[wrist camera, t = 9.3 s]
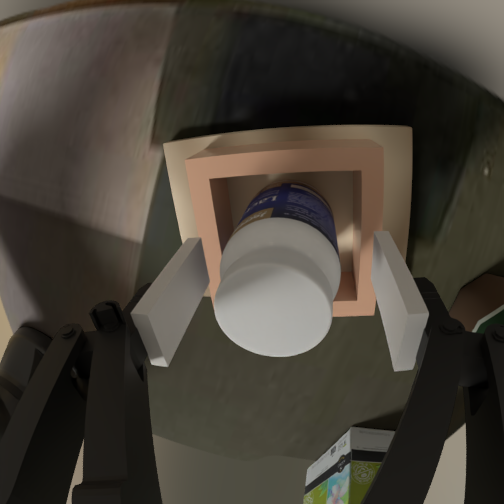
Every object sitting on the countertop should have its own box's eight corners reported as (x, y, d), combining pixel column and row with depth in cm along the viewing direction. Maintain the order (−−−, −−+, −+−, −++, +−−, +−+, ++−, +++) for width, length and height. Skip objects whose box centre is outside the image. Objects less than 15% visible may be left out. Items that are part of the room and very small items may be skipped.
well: (227, 287, 24) (215, 316, 21) (204, 149, 19) (184, 159, 16) (366, 285, 22) (373, 315, 19) (370, 139, 17) (383, 147, 14)
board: (199, 287, 26) (195, 296, 25) (170, 141, 20) (162, 143, 19) (397, 284, 23) (400, 292, 22) (406, 125, 17) (412, 127, 16)
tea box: (347, 424, 32) (346, 535, 19) (414, 430, 32) (425, 528, 19) (305, 468, 39) (295, 550, 26) (361, 473, 39) (360, 551, 26)
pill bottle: (268, 162, 19) (231, 222, 10) (348, 203, 19) (378, 292, 11) (233, 237, 22) (184, 333, 13) (307, 271, 22) (301, 382, 13)
